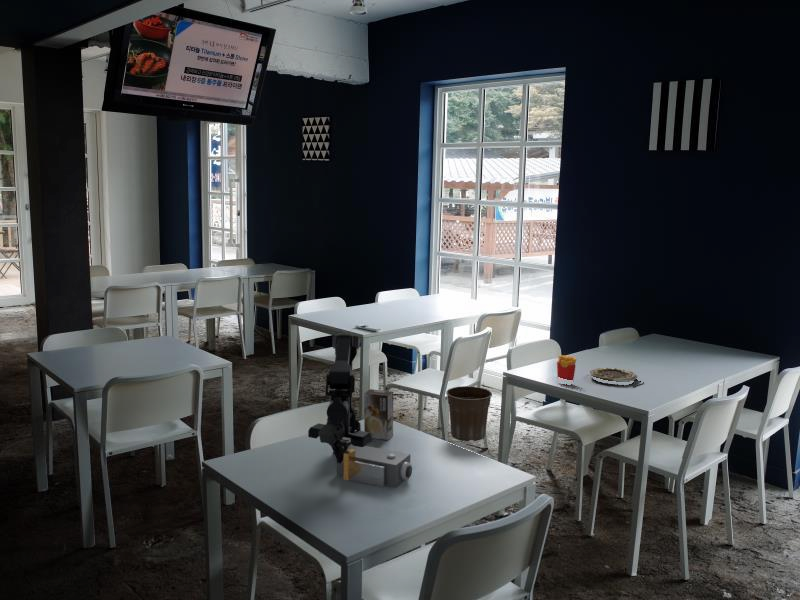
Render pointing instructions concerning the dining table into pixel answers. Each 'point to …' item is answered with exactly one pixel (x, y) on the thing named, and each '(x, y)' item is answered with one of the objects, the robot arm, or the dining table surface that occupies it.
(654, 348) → the dining table surface
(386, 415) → the coffee box
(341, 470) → the camera housing
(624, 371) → the pie
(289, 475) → the dining table surface
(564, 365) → the french fries
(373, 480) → the orange and silver box
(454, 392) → the plant pot
